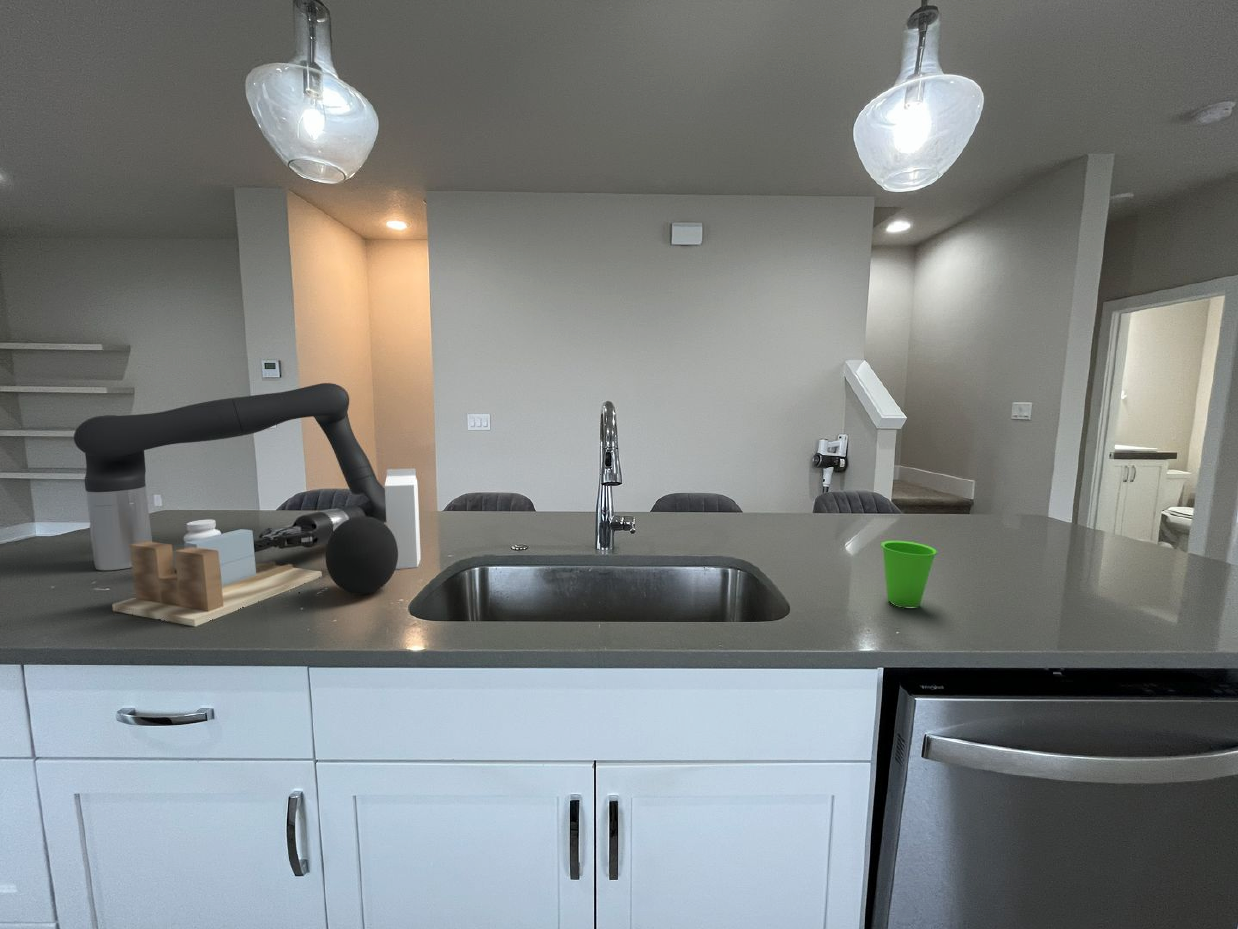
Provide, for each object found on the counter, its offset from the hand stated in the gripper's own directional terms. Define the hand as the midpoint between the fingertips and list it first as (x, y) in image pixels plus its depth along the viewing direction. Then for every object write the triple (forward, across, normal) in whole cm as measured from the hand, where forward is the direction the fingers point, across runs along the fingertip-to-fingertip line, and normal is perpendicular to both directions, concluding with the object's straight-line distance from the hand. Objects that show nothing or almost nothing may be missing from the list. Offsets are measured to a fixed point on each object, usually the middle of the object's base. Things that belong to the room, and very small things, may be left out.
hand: (248, 547), depth 97 cm
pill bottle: (-2, -16, +8) cm, 18 cm away
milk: (-19, +21, +8) cm, 30 cm away
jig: (+5, 0, +8) cm, 9 cm away
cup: (-29, +125, +8) cm, 129 cm away
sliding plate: (+5, 0, +6) cm, 8 cm away
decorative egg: (-3, +25, +8) cm, 26 cm away
